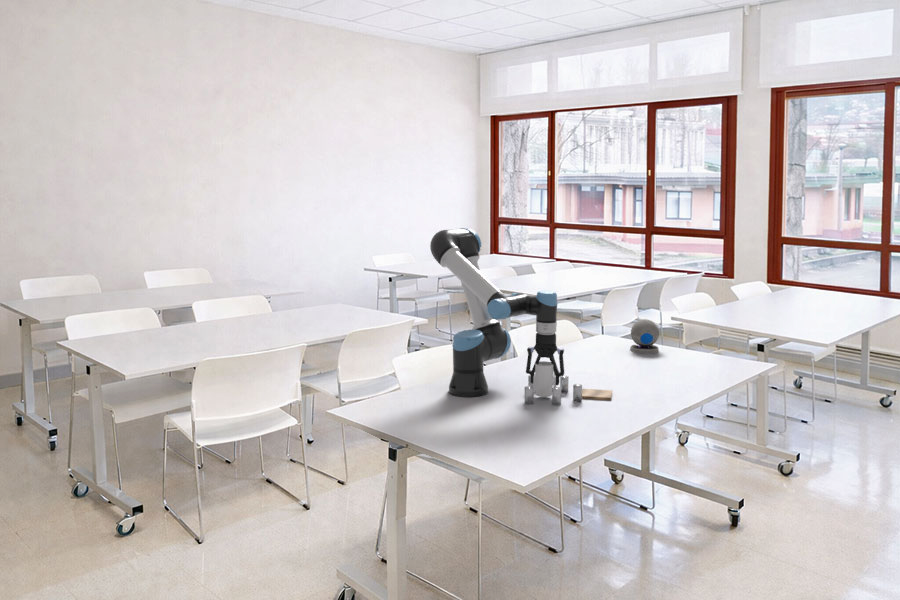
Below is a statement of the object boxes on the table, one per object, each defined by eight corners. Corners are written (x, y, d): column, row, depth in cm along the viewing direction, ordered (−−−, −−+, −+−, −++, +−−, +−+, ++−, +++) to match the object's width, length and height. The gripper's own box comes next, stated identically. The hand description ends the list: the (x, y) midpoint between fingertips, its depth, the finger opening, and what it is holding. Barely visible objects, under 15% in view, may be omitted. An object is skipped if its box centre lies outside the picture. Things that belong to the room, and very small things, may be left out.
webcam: (655, 347, 360) (656, 317, 358) (660, 353, 348) (661, 322, 346) (628, 347, 362) (629, 317, 359) (632, 353, 349) (633, 322, 347)
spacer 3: (551, 405, 271) (551, 389, 270) (552, 402, 274) (552, 386, 273) (560, 405, 270) (560, 389, 269) (561, 403, 273) (561, 387, 272)
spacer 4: (559, 392, 287) (559, 377, 286) (560, 390, 290) (560, 375, 289) (567, 393, 286) (568, 377, 285) (568, 390, 289) (568, 375, 288)
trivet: (578, 398, 279) (578, 395, 278) (580, 391, 288) (580, 388, 288) (610, 400, 276) (610, 397, 275) (612, 392, 285) (612, 390, 285)
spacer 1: (527, 392, 288) (527, 377, 287) (528, 389, 291) (528, 374, 290) (535, 392, 287) (536, 377, 286) (537, 390, 290) (537, 375, 289)
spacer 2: (523, 404, 272) (523, 388, 271) (525, 401, 275) (525, 386, 274) (532, 404, 271) (532, 388, 270) (533, 402, 274) (533, 386, 273)
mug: (544, 398, 275) (545, 366, 273) (530, 394, 280) (531, 363, 278) (562, 393, 281) (562, 362, 279) (548, 389, 286) (549, 358, 284)
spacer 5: (572, 401, 275) (572, 385, 274) (573, 399, 278) (573, 383, 277) (581, 402, 274) (581, 386, 273) (582, 399, 277) (582, 384, 276)
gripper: (518, 333, 275) (516, 393, 279) (572, 336, 271) (570, 397, 275) (521, 329, 283) (520, 387, 287) (573, 332, 278) (572, 391, 282)
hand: (544, 392), depth 281 cm, fingers closed on mug, 7 cm apart
